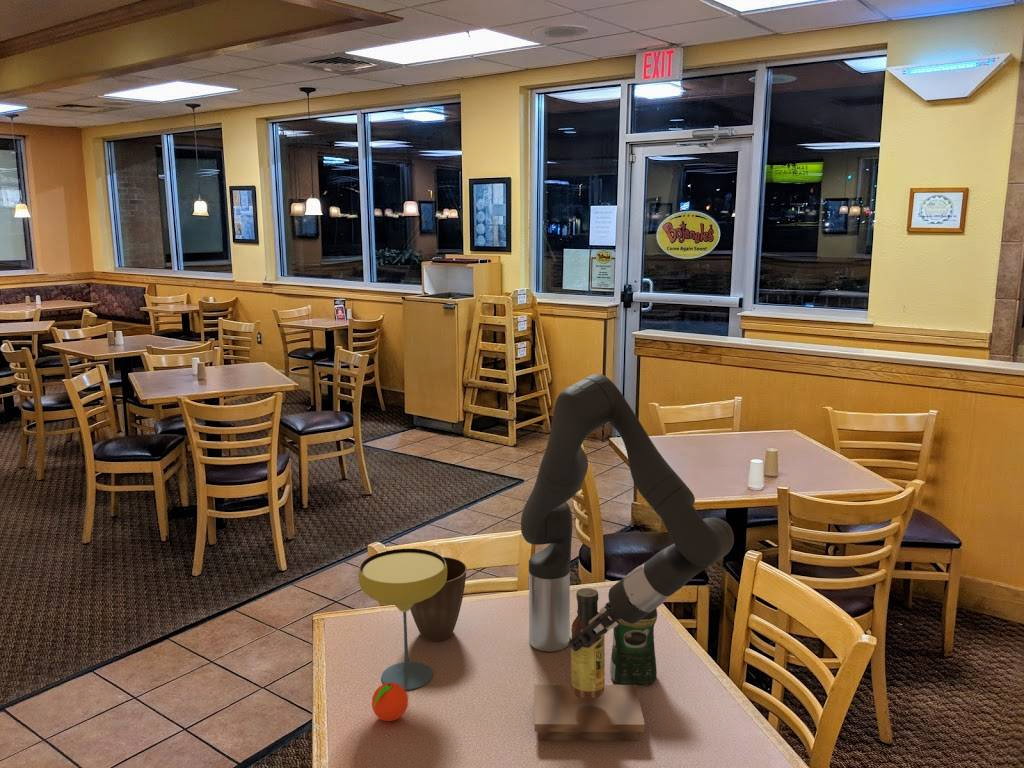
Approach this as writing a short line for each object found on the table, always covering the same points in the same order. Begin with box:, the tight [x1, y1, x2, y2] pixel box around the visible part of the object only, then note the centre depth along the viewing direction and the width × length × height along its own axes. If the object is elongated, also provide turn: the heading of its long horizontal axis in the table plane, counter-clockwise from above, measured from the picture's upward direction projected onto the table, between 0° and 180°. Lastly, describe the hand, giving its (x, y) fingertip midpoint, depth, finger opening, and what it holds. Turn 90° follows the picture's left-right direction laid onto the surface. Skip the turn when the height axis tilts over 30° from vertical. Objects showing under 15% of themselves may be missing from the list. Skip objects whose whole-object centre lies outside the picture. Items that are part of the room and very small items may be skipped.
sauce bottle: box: [570, 587, 606, 699], centre depth 150 cm, size 7×6×20 cm
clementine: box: [371, 683, 409, 722], centre depth 155 cm, size 8×7×7 cm
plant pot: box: [409, 556, 468, 642], centre depth 187 cm, size 15×15×16 cm
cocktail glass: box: [358, 548, 447, 691], centre depth 168 cm, size 18×18×25 cm
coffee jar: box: [609, 607, 658, 687], centre depth 167 cm, size 10×8×19 cm
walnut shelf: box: [533, 684, 646, 742], centre depth 153 cm, size 20×13×4 cm, turn 89°
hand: (579, 638), depth 151 cm, fingers closed on sauce bottle, 6 cm apart
